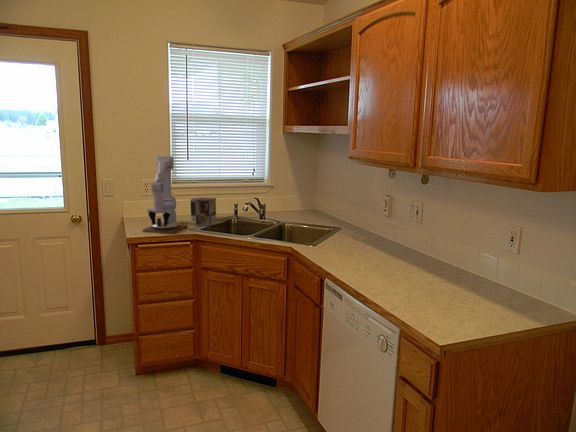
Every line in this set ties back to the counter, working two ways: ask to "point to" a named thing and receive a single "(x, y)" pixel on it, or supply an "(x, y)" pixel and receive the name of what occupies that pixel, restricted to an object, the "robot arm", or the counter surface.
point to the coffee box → (203, 213)
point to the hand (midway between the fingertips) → (159, 224)
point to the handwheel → (170, 224)
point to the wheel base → (166, 231)
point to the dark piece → (193, 207)
